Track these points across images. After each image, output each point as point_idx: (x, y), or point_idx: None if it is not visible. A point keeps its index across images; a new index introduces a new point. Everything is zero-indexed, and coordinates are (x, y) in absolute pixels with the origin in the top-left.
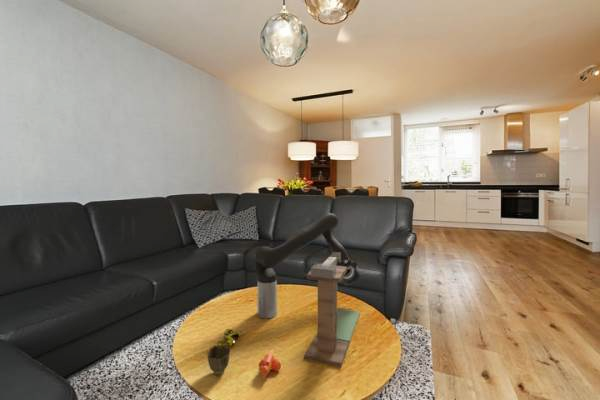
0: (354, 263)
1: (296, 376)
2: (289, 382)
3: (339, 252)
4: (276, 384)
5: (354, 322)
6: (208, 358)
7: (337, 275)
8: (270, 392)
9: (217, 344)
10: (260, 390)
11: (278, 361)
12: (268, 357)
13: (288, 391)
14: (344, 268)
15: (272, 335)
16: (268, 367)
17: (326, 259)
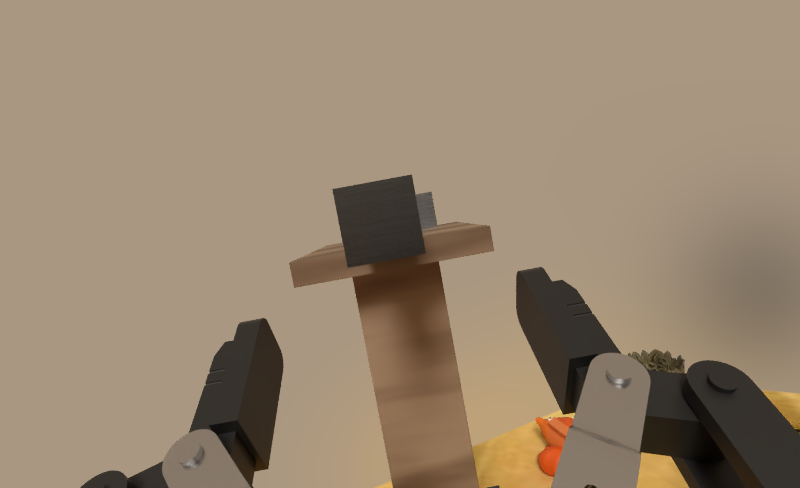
0: (140, 475)
1: (490, 483)
2: (493, 464)
3: (348, 186)
4: (515, 449)
5: None
6: (651, 357)
7: (336, 245)
8: (510, 434)
9: (795, 428)
10: (532, 429)
11: (547, 452)
12: (563, 424)
13: (478, 450)
14: (307, 257)
15: None
16: (545, 427)
17: (709, 363)
